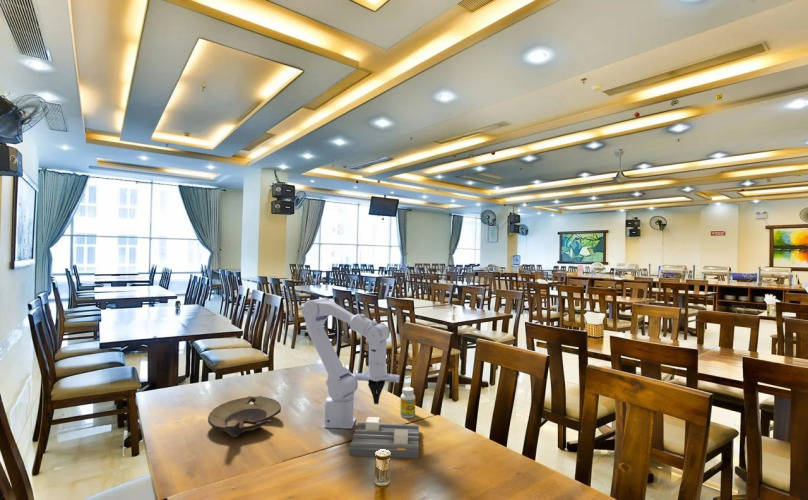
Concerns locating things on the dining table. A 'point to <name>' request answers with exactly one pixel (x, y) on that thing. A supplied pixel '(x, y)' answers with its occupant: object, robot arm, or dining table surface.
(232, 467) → the dining table surface
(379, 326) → the robot arm
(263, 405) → the grey shallow oval dish
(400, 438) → the near switch tab
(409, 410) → the supplement bottle
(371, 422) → the far switch tab
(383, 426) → the switch board
